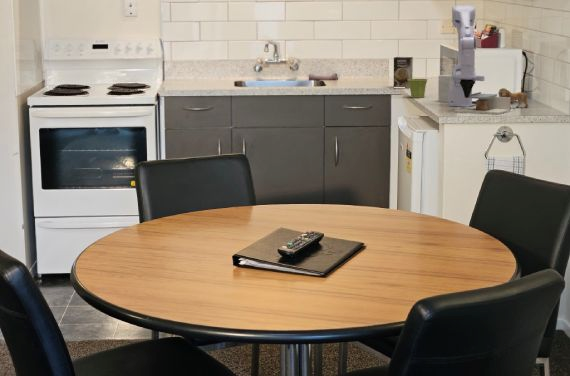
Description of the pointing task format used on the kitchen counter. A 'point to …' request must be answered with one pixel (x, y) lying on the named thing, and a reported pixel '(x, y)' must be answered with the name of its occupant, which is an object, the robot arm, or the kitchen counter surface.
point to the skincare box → (444, 87)
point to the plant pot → (417, 87)
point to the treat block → (482, 105)
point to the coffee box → (402, 71)
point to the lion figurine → (514, 96)
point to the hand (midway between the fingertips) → (467, 97)
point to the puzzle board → (491, 106)
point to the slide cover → (482, 96)
